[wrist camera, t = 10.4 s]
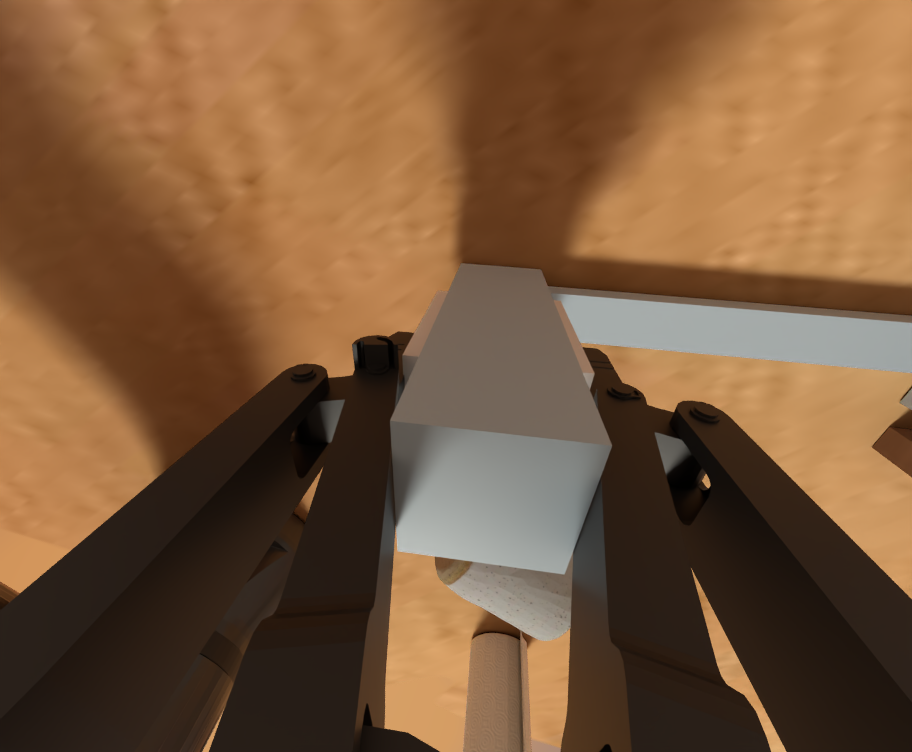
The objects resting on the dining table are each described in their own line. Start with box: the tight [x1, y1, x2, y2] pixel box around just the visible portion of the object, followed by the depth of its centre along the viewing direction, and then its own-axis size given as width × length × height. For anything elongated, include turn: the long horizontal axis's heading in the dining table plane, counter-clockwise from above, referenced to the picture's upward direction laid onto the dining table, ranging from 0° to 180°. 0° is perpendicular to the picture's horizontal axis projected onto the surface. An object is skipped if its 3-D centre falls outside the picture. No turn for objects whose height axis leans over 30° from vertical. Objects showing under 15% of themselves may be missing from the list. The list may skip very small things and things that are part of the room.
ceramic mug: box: [435, 553, 573, 641], centre depth 24 cm, size 11×8×8 cm
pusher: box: [390, 263, 912, 575], centre depth 12 cm, size 26×7×13 cm, turn 87°
